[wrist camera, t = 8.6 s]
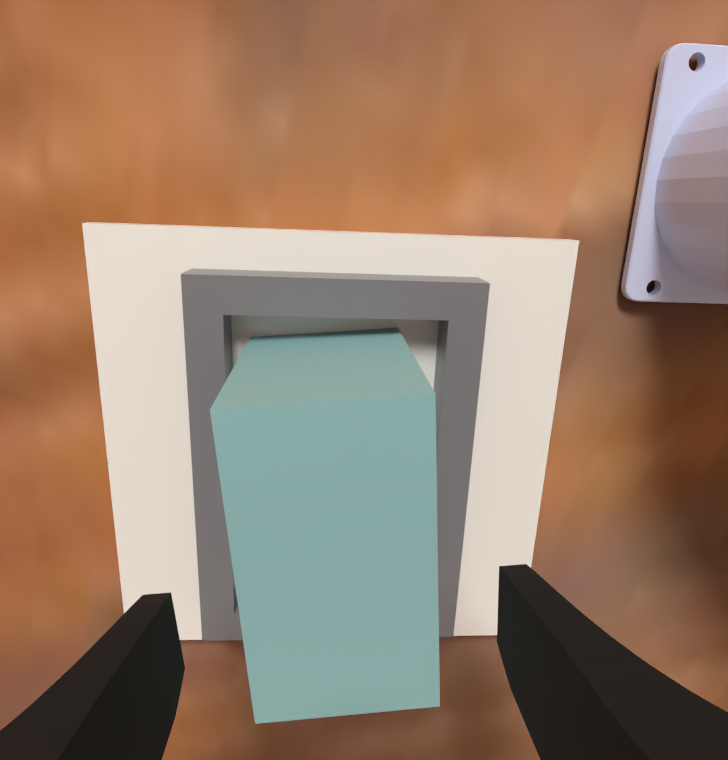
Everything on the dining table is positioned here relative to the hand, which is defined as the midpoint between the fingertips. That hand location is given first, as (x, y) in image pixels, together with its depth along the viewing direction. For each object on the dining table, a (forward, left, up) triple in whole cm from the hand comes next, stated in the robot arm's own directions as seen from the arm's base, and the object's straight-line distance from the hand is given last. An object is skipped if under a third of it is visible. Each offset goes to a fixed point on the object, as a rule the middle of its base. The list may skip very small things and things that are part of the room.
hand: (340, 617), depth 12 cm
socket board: (0, 0, -9) cm, 9 cm away
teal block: (0, 0, -9) cm, 9 cm away
